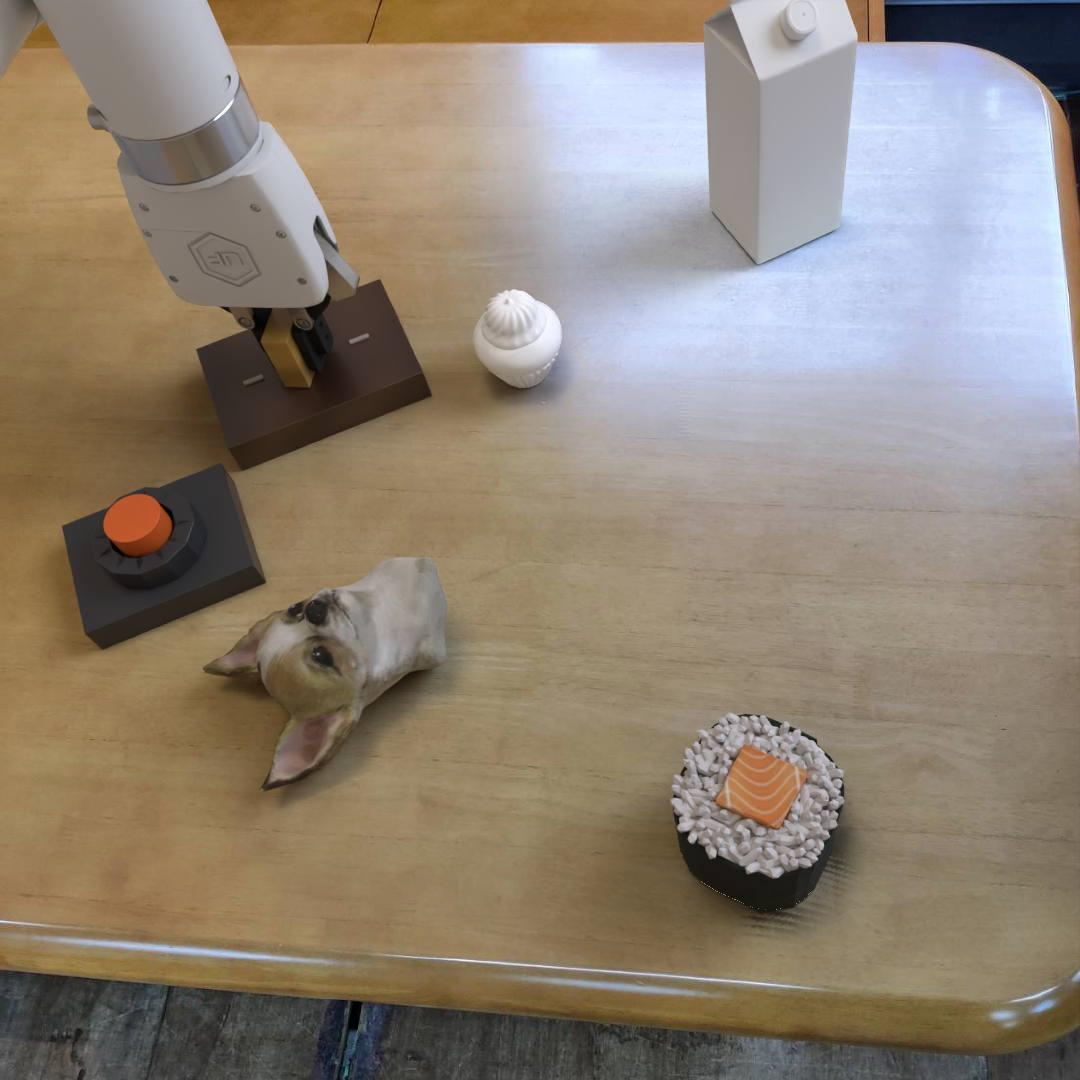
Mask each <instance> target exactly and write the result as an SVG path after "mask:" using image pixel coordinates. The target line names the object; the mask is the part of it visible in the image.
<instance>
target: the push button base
mask: <svg viewBox="0 0 1080 1080" xmlns="http://www.w3.org/2000/svg"><path fill="white" fill-rule="evenodd" d="M135 494H144V495H148V496H151V497H153V498H154V499H155V500H156V501H157V502H158V503H159V504H160V506H161V507H162V508H163V509H164V511H165V512H166V513H167V514H168V515H169V517H170V518H171V520H172V524H173V529H172V534H171V536H170V538H169V540H168V541H167V542H166V543H165V544H164V545H163V546H162V547H161V548H160V549H159V550H158V551H156V552H154V553H152V554H149V555H147V556H144V557H132V556H128V555H126V554H124V553H123V552H122V551H121V550H120V549H119V548H118V547H117V546H116V545H115V544H114V543H113V542H112V541H111V540H110V538H109V537H108V536H107V535H106V533H105V531H104V527H103V523H104V518H105V516H106V514H107V512H108V510H109V509H110V508H111V507H112V506H113V505H114V504H115V503H116V502H118V501H119V500H121V499H123V498H125V497H127V496H130V495H135ZM61 529H62V534H63V538H64V544H65V547H66V553H67V558H68V562H69V566H70V572H71V577H72V581H73V585H74V590H75V595H76V599H77V605H78V608H79V613H80V619H81V623H82V628H83V633H84V635H85V636H86V637H88V638H89V639H90V640H91V641H92V642H93V643H95V645H97V646H98V647H99V648H100V649H101V650H102V651H103V650H107V648H110V647H111V648H112V647H113V646H116V645H118V644H120V643H124V642H125V641H128V640H130V639H132V638H135V637H137V636H140V635H142V634H144V633H147V632H149V631H152V630H155V629H156V628H159V627H162V626H164V625H166V624H169V623H171V622H173V621H176V620H179V619H181V618H183V617H186V616H188V615H191V614H193V613H196V612H198V611H201V610H203V609H205V608H208V607H210V606H212V605H214V604H215V605H216V604H218V603H220V602H223V601H225V600H227V599H229V598H233V597H235V596H237V595H239V594H242V593H244V592H247V591H250V590H251V589H254V588H256V587H259V586H262V585H265V584H267V579H266V576H265V573H264V570H263V566H262V564H261V561H260V558H259V554H258V552H257V551H258V550H257V548H256V545H255V542H254V539H253V536H252V532H251V529H250V527H249V524H248V520H247V517H246V514H245V510H244V508H243V505H242V502H241V498H240V495H239V493H238V489H237V486H236V482H235V480H234V479H233V478H232V476H231V475H230V474H229V472H228V470H227V469H226V467H225V466H224V465H223V463H222V462H220V463H217V464H214V465H211V466H208V467H207V468H204V469H201V470H199V471H196V472H195V473H191V474H188V475H187V476H184V477H181V478H179V479H176V480H174V481H171V482H169V483H166V484H164V485H162V486H159V487H156V486H144V487H141V488H139V489H136V490H134V491H131V492H129V493H127V494H124V495H121V496H119V497H118V498H117V499H115V501H113V503H112V504H110V505H109V506H108V507H106V508H103V509H101V510H98V511H96V512H93V513H90V514H88V515H85V516H83V517H79V518H77V519H75V520H73V521H70V522H68V523H65V524H62V525H61Z"/></svg>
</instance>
